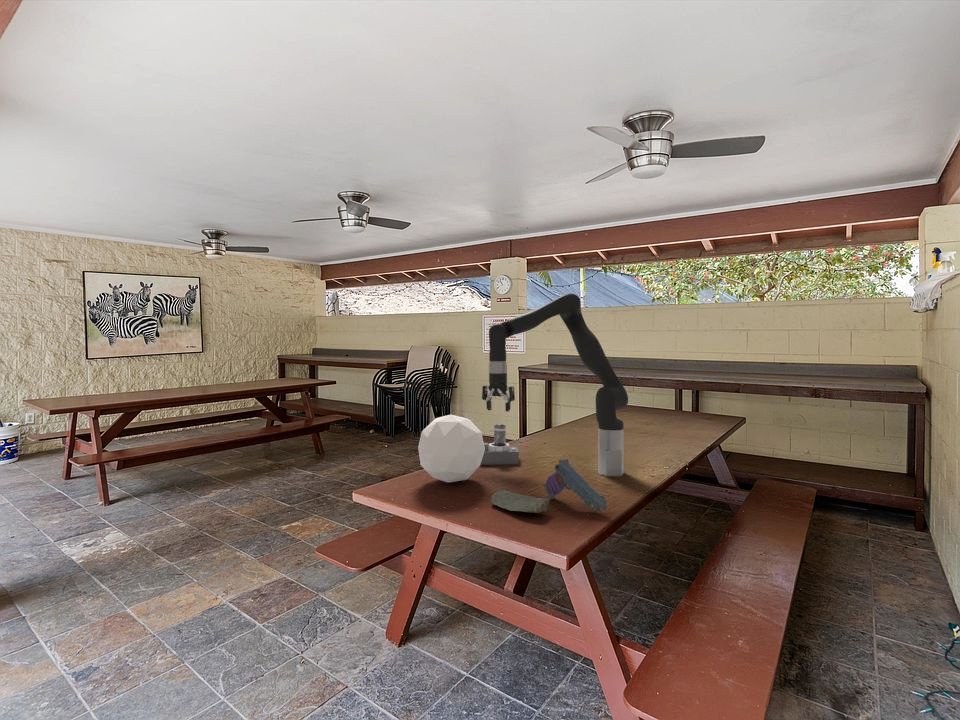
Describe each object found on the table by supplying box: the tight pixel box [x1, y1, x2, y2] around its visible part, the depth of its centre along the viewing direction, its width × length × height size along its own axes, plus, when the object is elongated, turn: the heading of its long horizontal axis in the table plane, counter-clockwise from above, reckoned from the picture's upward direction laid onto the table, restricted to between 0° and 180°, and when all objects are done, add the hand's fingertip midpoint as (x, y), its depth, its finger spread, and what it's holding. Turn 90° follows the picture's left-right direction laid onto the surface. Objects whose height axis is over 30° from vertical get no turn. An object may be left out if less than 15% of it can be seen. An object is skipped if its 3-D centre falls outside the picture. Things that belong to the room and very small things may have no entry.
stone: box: [490, 489, 550, 514], centre depth 154 cm, size 21×4×10 cm
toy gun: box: [542, 458, 608, 512], centre depth 156 cm, size 4×21×15 cm
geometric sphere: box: [417, 414, 485, 483], centre depth 181 cm, size 24×25×25 cm
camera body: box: [480, 442, 520, 466], centre depth 209 cm, size 10×16×8 cm, turn 89°
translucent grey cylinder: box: [493, 423, 507, 446], centre depth 208 cm, size 5×5×10 cm
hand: (498, 410), depth 207 cm, fingers open, 8 cm apart
